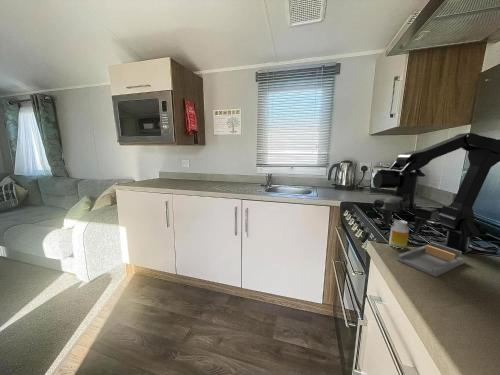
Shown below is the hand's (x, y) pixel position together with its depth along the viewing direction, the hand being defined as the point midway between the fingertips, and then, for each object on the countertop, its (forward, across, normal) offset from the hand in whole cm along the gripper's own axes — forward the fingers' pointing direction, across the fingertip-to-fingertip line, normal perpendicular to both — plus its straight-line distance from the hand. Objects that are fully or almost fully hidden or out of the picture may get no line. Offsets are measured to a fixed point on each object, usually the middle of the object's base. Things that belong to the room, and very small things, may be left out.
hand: (400, 230), depth 75 cm
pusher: (+6, +11, +3) cm, 13 cm away
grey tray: (+6, +11, -2) cm, 13 cm away
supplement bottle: (+6, 0, 0) cm, 7 cm away
